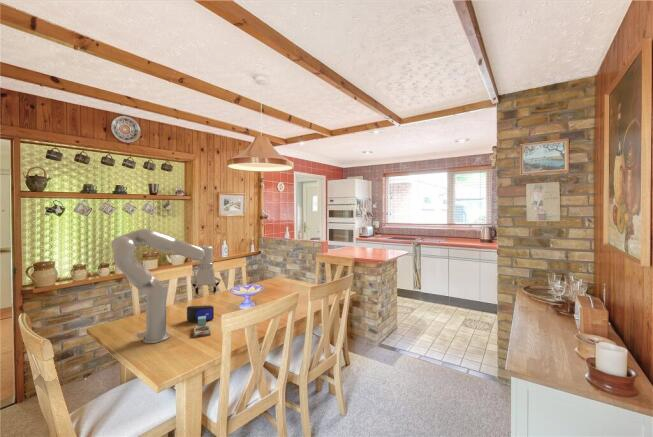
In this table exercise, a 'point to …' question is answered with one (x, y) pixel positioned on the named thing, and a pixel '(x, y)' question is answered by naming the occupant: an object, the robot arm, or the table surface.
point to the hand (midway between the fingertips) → (205, 293)
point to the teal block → (201, 321)
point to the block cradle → (201, 331)
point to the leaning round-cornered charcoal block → (200, 312)
